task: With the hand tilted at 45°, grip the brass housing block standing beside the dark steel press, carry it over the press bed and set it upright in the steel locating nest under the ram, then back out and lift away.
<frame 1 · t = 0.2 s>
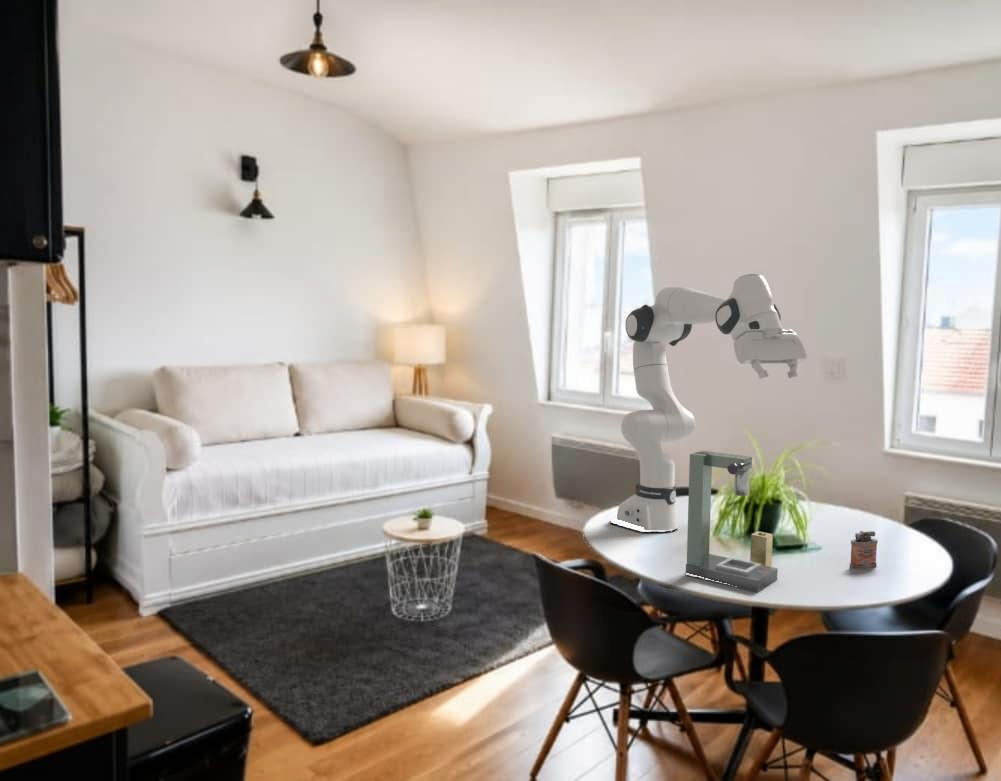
hand: (779, 377, 208), 54 cm above the table, tool tilted 30°, fingers open, 8 cm apart
lighter: (863, 567, 225), on the table
housing: (760, 565, 226), on the table
press: (731, 577, 216), on the table
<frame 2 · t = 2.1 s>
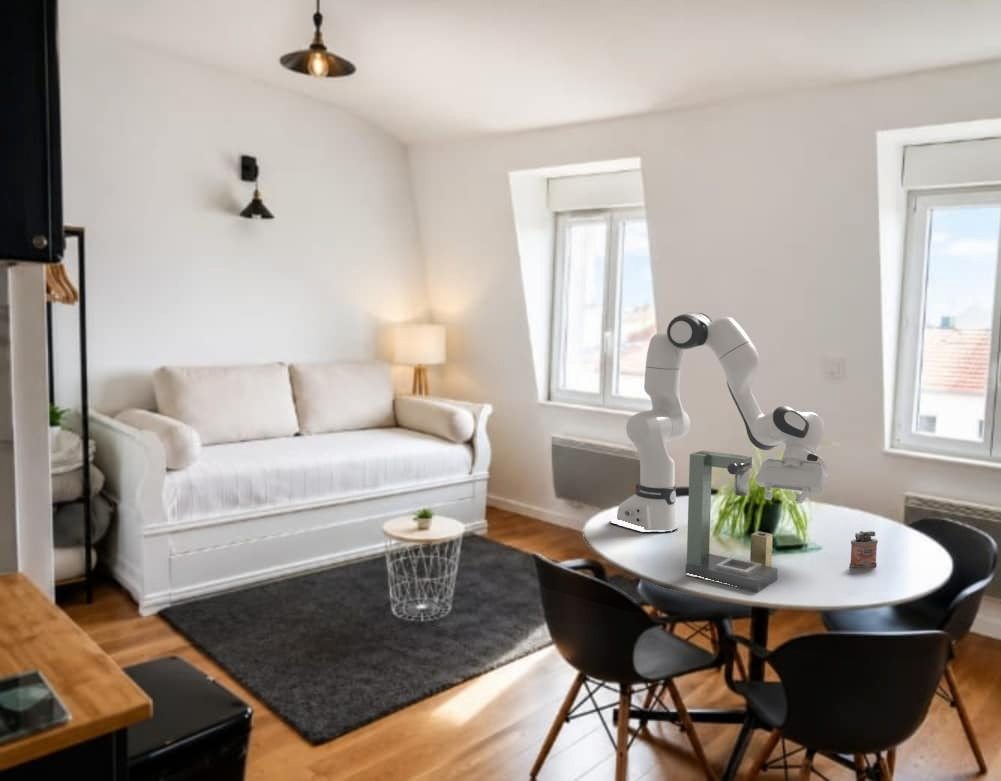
hand: (782, 500, 232), 17 cm above the table, tool tilted 45°, fingers open, 8 cm apart
nothing on the table moved.
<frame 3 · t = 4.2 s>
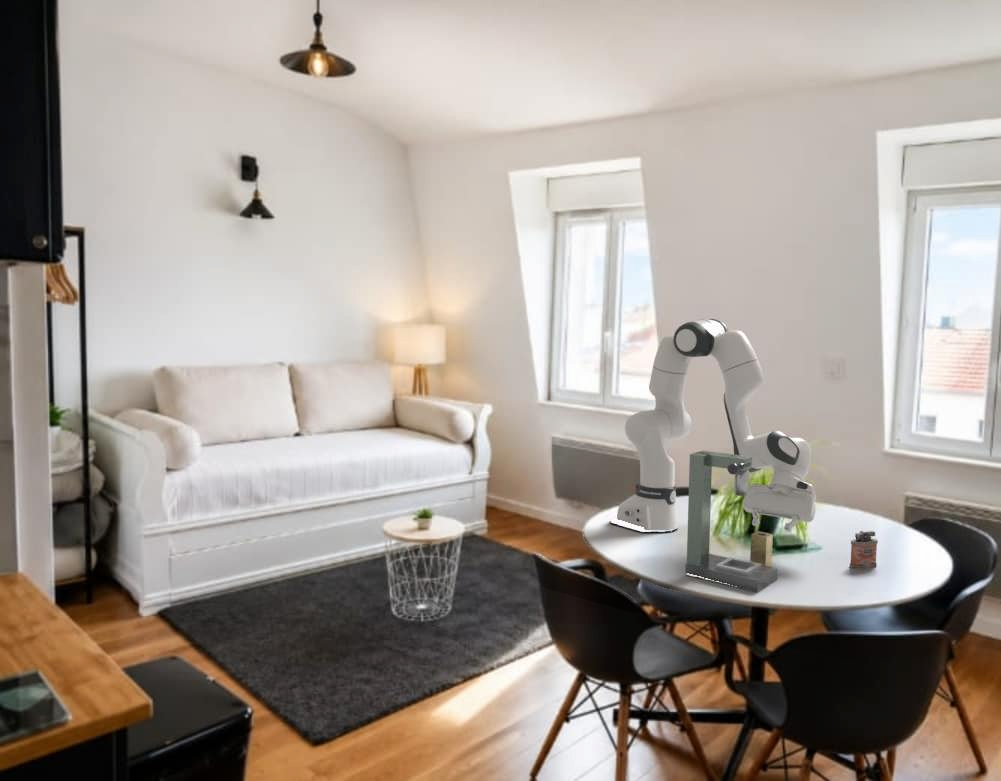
hand: (770, 527, 229), 10 cm above the table, tool tilted 45°, fingers open, 8 cm apart
nothing on the table moved.
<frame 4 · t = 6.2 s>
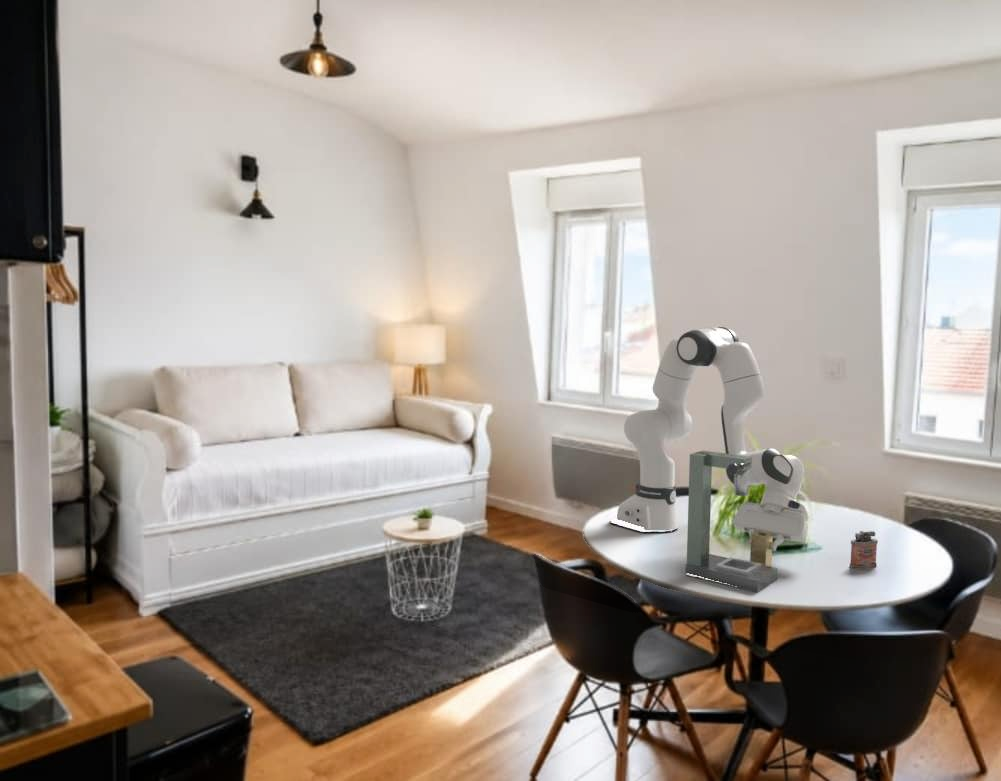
hand: (761, 547, 225), 5 cm above the table, tool tilted 45°, fingers closed on housing, 4 cm apart
housing: (760, 565, 226), on the table, touching gripper
everything else where it was.
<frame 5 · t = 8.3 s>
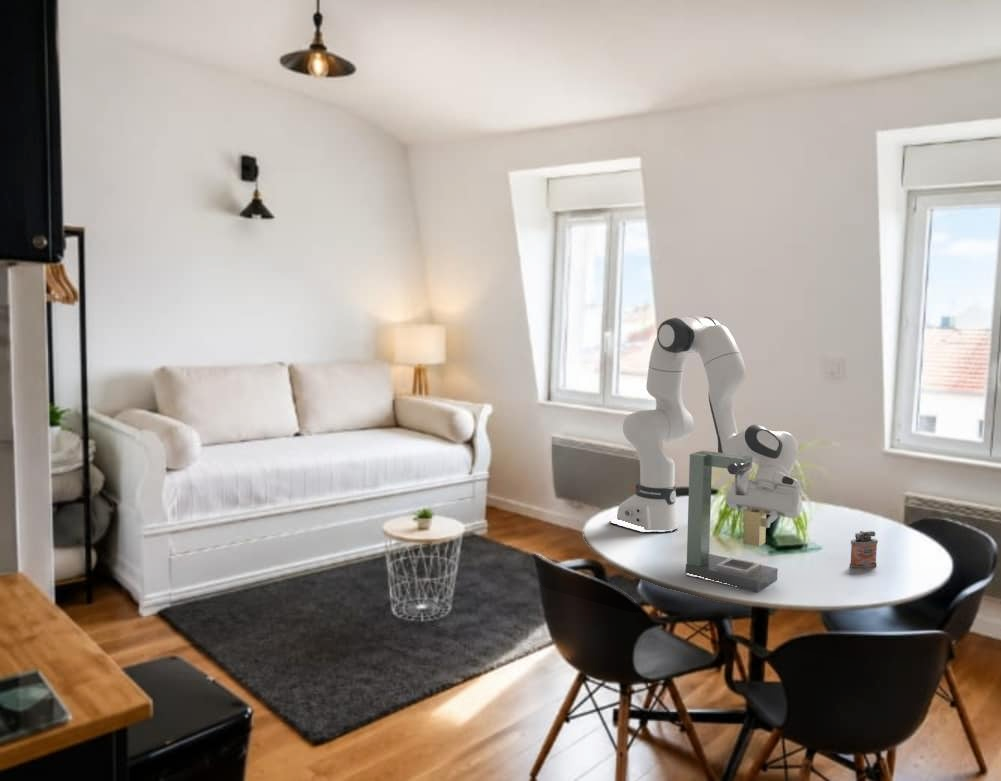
hand: (755, 524, 220), 13 cm above the table, tool tilted 45°, fingers closed on housing, 4 cm apart
housing: (754, 543, 220), point 8 cm above the table, touching gripper
everything else where it was.
when the fingers open (10 cm above the table, at t = 10.2 s): housing drops 1 cm, resting on press.
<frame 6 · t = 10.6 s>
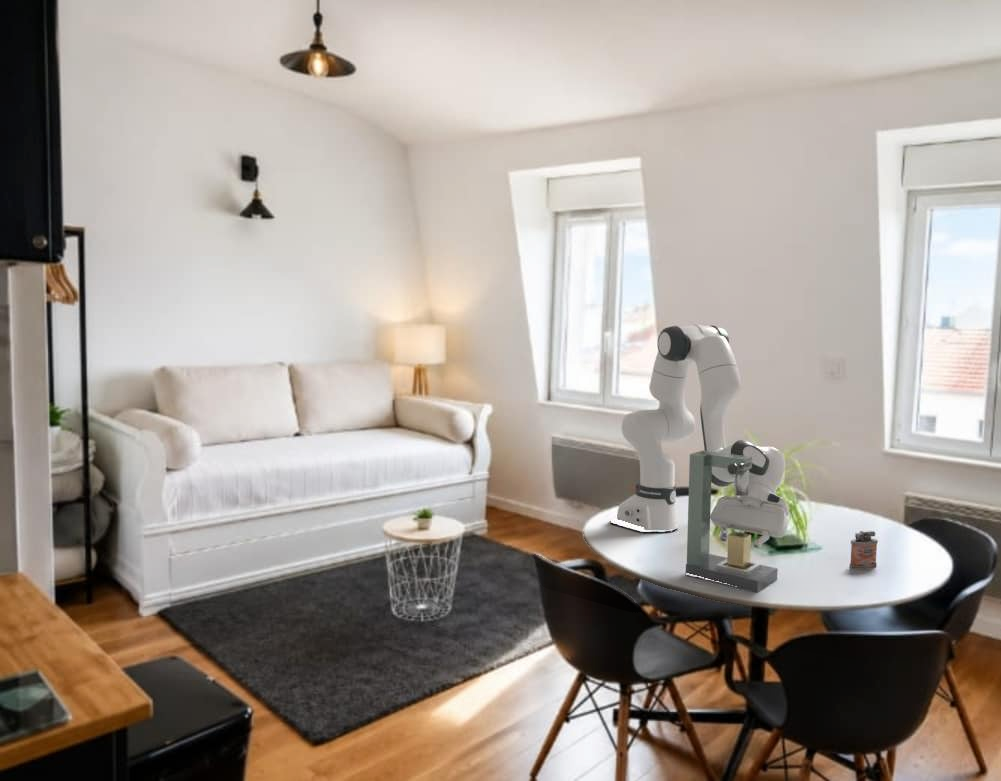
hand: (739, 543, 213), 10 cm above the table, tool tilted 45°, fingers open, 8 cm apart
housing: (738, 567, 214), point 3 cm above the table, touching press
everything else where it was.
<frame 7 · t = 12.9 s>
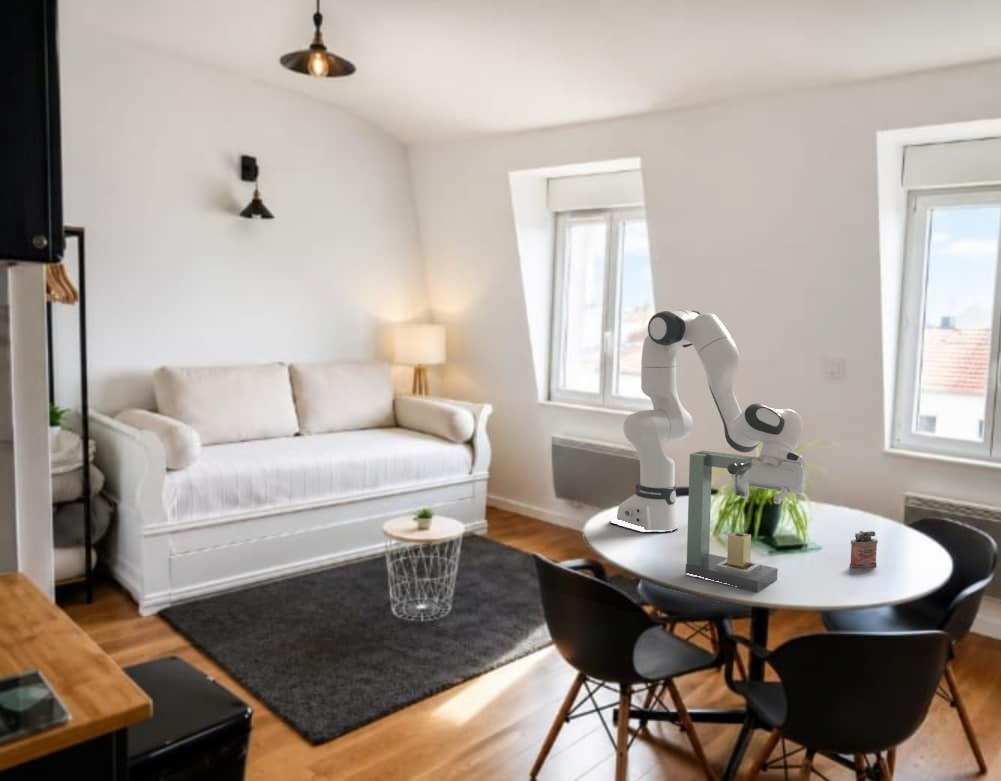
hand: (759, 499, 222), 19 cm above the table, tool tilted 45°, fingers open, 8 cm apart
nothing on the table moved.
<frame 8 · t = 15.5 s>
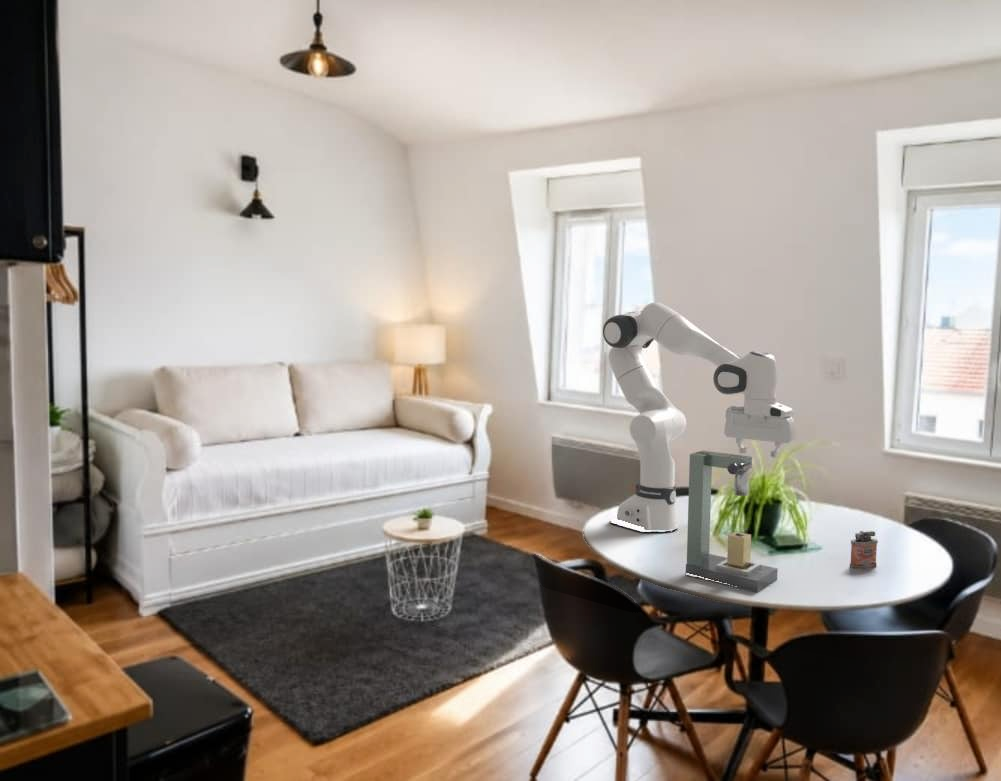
hand: (758, 455, 234), 29 cm above the table, tool pointing down, fingers open, 8 cm apart
nothing on the table moved.
at the end: housing 0.1 cm from the target spot on the press, point 3.0 cm above the press's base; housing tilted 0°; the gripper is holding nothing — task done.
